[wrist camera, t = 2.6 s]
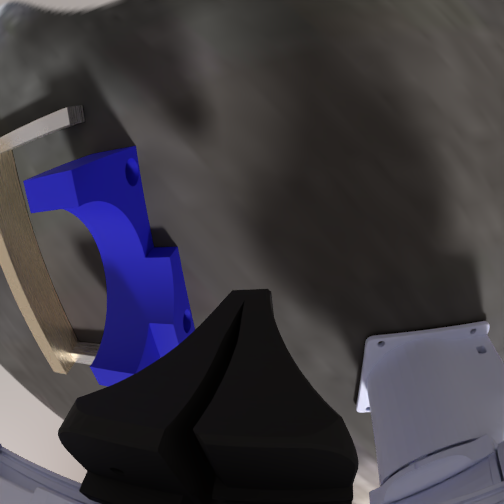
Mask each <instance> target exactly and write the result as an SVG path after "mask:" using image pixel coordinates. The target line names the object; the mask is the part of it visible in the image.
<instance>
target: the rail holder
mask: <svg viewBox="0 0 504 504" xmlns="http://www.w3.org/2000/svg"><path fill="white" fill-rule="evenodd" d="M82 122H85V118H84V112H83V105H79V106H71V107H66V108H63V109H61V110H58V111H56V112H54V113H51V114H49V115H47V116H44V117H42V118H40V119H37V120H35V121H33V122H31V123H29V124H27V125H24V126H22V127H20V128H18V129H16V130H14V131H12V132H10V133H8V134H6V135H4V136H2V137H0V264H1V267H2V269H3V272H4V274H5V277H6V279H7V282H8V284H9V286H10V289H11V291H12V293H13V295H14V297H15V300H16V302H17V304H18V306H19V308H20V310H21V312H22V314H23V316H24V318H25V320H26V322H27V324H28V326H29V328H30V330H31V332H32V334H33V336H34V338H35V340H36V341H37V343H38V345H39V347H40V349H41V350H42V352H43V354H44V356H45V357H46V359H47V361H48V362H49V364H50V366H51V367H52V369H53V371H54V372H58V373H63V374H67V373H68V372H69V370H70V369H71V367H72V366H73V364H74V363H75V362H77V363H83V364H90V365H91V364H92V362H93V361H94V359H95V357H96V355H97V352H98V350H99V347H100V344H96V343H86V342H79V341H78V339H77V337H76V335H75V333H74V331H73V329H72V327H71V325H70V323H69V321H68V319H67V317H66V314H65V312H64V310H63V308H62V305H61V303H60V301H59V299H58V296H57V294H56V292H55V289H54V287H53V284H52V282H51V279H50V277H49V274H48V272H47V269H46V266H45V264H44V261H43V258H42V256H41V253H40V250H39V247H38V244H37V241H36V238H35V235H34V232H33V229H32V226H31V223H30V219H29V216H28V213H27V209H26V206H25V202H24V199H23V195H22V191H21V187H20V183H19V179H18V175H17V171H16V166H15V162H14V157H13V152H12V150H13V149H15V148H17V147H19V146H22V145H24V144H26V143H29V142H31V141H34V140H36V139H38V138H41V137H44V136H46V135H49V134H51V133H54V132H57V131H59V130H62V129H65V128H67V127H70V126H73V125H76V124H79V123H82Z"/></svg>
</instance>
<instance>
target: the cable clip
mask: <svg viewBox="0 0 504 504" xmlns="http://www.w3.org/2000/svg"><path fill="white" fill-rule="evenodd" d="M24 186H25V190H26V195H27V199H28V203H29V207H30V211H31V213H36V212H43V211H50V210H57V209H64V210H67V211H69V212H71V213H72V214H74V215H75V216H77V217H78V218H79V219H80V220H81V221H82V222H83V223H84V224H85V226H86V227H87V228H88V229H89V231H90V233H91V234H92V236H93V238H94V240H95V242H96V244H97V246H98V249H99V252H100V255H101V258H102V262H103V266H104V271H105V277H106V285H107V314H106V322H105V328H104V333H103V337H102V341H101V344H100V347H99V350H98V352H97V355H96V357H95V359H94V361H93V362H92V364H91V366H90V368H91V370H92V372H93V373H94V375H95V377H96V379H97V381H98V383H99V385H104V386H111V385H113V384H115V383H118V382H120V381H122V380H124V379H126V378H128V377H130V376H132V375H134V374H136V373H137V372H139V371H141V370H142V369H144V368H146V367H147V366H149V365H150V364H152V363H154V362H155V361H157V360H158V359H159V358H160V357H163V356H164V355H166V354H167V353H168V352H170V351H171V350H172V349H174V348H175V347H176V346H178V345H179V344H180V343H181V342H182V341H184V340H185V339H186V338H187V337H188V336H189V335H190V334H191V333H192V332H193V331H194V330H195V327H194V323H193V319H192V314H191V310H190V305H189V301H188V296H187V291H186V287H185V282H184V277H183V272H182V267H181V262H180V257H179V252H178V247H154V244H153V240H152V235H151V230H150V225H149V220H148V215H147V210H146V205H145V199H144V194H143V188H142V182H141V176H140V170H139V164H138V158H137V151H136V146H132V147H126V148H120V149H115V150H110V151H104V152H99V153H94V154H90V155H88V156H85V157H82V158H79V159H77V160H74V161H71V162H69V163H66V164H63V165H61V166H58V167H56V168H53V169H51V170H48V171H46V172H43V173H41V174H39V175H36V176H34V177H32V178H29V179H27V180H25V181H24Z"/></svg>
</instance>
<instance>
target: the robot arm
mask: <svg viewBox="0 0 504 504" xmlns="http://www.w3.org/2000/svg"><path fill="white" fill-rule="evenodd" d="M489 328H490V325H489V323H488V322H487V321H481V322H475V323H469V324H463V325H456V326H450V327H443V328H436V329H428V330H420V331H412V332H403V333H394V334H384V335H374V336H370V337H368V338H367V339H366V342H365V349H364V357H363V365H362V372H361V379H360V386H359V392H358V398H357V404H356V410H357V412H360V413H363V412H371V418H372V424H373V431H374V439H375V446H376V454H377V463H378V472H379V481H380V487H379V488H377V489H375V490H373V491H370V492H369V495H370V504H504V363H503V361H502V359H501V357H500V356H499V354H498V352H497V351H496V349H495V347H494V345H493V344H492V342H491V340H490V339H489V337H488V336H487V334H488V331H489ZM472 329H473V330H472ZM471 330H472V331H471ZM380 341H383V342H382V343H379V342H380ZM58 436H59V439H60V441H61V443H62V444H63V446H64V447H65V448H66V449H67V451H68V452H69V453H70V454H71V455H73V457H74V458H75V459H76V460H77V461H78V462H79V463H80V464H81V465H82V466H83V467H84V468H85V469H86V470H87V474H86V476H85V478H84V480H83V482H82V484H81V483H78V482H76V481H73V480H71V479H68V478H66V477H63V476H61V475H59V474H56V473H54V472H52V471H50V470H47V469H45V468H43V467H41V466H39V465H37V464H35V463H32V462H30V461H28V460H26V459H24V458H23V457H21V456H19V455H17V454H15V453H13V452H11V451H9V450H8V449H6V448H4V447H2V446H1V444H0V504H352V500H353V482H354V479H355V476H356V473H357V470H358V457H357V452H356V449H355V446H354V443H353V440H352V438H351V436H350V434H349V431H348V429H347V427H346V425H345V423H344V421H343V419H342V417H341V416H340V415H339V414H338V413H337V412H335V411H334V410H333V409H332V408H331V407H330V406H329V405H328V404H327V403H326V402H325V401H324V400H323V398H322V397H321V396H320V395H319V394H318V393H317V392H316V390H315V389H314V388H313V387H312V386H311V384H310V383H309V382H308V380H307V379H306V378H305V376H304V375H303V374H302V372H301V371H300V370H299V368H298V366H297V365H296V363H295V362H294V360H293V358H292V357H291V355H290V353H289V351H288V350H287V348H286V346H285V344H284V342H283V339H282V337H281V335H280V333H279V330H278V328H277V325H276V322H275V319H274V313H273V304H272V296H271V291H269V290H268V289H256V290H232V291H231V293H230V294H229V295H228V296H227V297H226V298H225V299H224V300H223V301H222V302H221V303H220V305H219V306H218V307H217V308H216V309H215V310H214V311H213V312H212V313H211V314H210V315H209V317H208V318H207V319H206V320H205V321H204V322H203V323H202V324H201V325H200V326H199V327H198V328H197V329H196V330H194V331H193V332H192V333H191V334H190V335H189V336H188V337H187V338H186V339H185V340H184V341H182V342H181V343H180V344H179V345H178V346H176V347H175V348H174V349H172V350H171V351H170V352H168V353H167V354H166V355H164V356H163V357H161V358H160V359H158V360H157V361H155V362H154V363H152V364H150V365H149V366H147V367H146V368H144V369H142V370H141V371H139V372H137V373H136V374H134V375H132V376H130V377H128V378H126V379H124V380H122V381H120V382H118V383H115V384H113V385H111V386H109V387H106V388H104V389H101V390H98V391H96V392H93V393H90V394H88V395H85V396H82V397H79V398H77V400H76V401H75V403H74V405H73V406H72V408H71V410H70V411H69V413H68V415H67V416H66V418H65V420H64V422H63V423H62V425H61V427H60V428H59V431H58Z"/></svg>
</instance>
